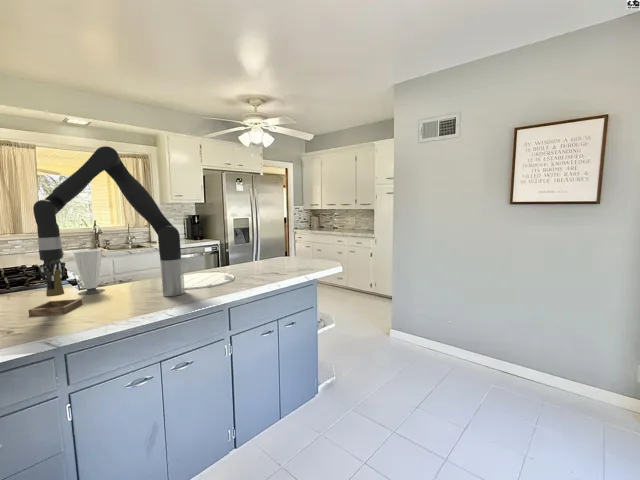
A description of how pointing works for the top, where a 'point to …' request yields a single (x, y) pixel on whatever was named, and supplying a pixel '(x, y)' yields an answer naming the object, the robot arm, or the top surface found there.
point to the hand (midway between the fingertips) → (55, 288)
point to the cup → (89, 269)
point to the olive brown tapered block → (56, 285)
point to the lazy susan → (206, 280)
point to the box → (46, 310)
